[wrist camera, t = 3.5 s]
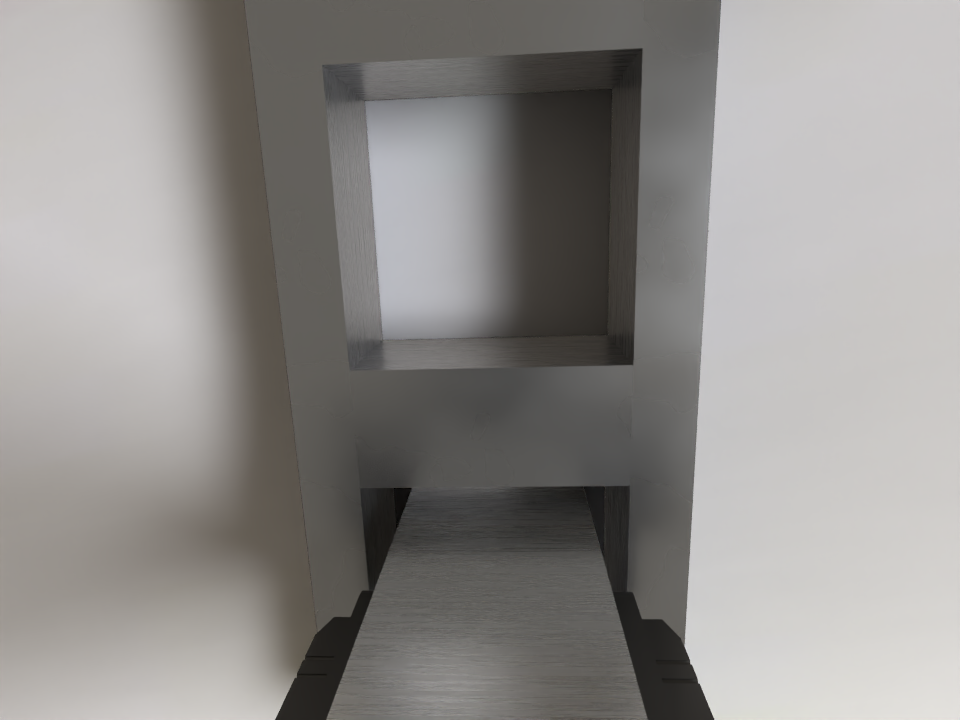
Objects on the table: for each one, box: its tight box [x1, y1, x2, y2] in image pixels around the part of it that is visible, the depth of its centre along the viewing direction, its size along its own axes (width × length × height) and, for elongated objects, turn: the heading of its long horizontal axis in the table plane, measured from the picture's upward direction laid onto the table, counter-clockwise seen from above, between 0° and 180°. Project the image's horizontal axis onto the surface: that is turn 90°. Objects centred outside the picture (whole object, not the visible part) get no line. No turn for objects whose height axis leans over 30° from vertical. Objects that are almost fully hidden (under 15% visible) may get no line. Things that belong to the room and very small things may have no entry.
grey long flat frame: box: [244, 0, 721, 645], centre depth 12 cm, size 8×26×3 cm, turn 2°
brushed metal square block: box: [326, 486, 648, 720], centre depth 11 cm, size 4×4×9 cm
